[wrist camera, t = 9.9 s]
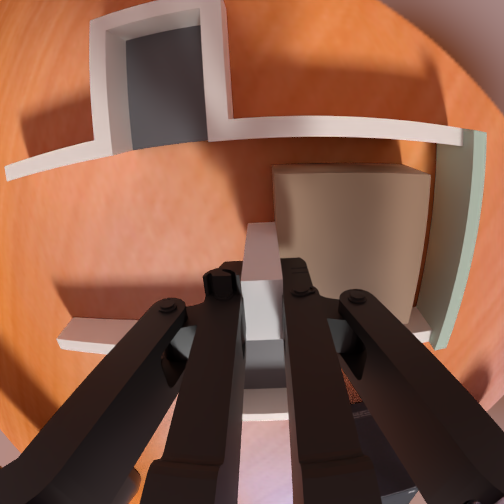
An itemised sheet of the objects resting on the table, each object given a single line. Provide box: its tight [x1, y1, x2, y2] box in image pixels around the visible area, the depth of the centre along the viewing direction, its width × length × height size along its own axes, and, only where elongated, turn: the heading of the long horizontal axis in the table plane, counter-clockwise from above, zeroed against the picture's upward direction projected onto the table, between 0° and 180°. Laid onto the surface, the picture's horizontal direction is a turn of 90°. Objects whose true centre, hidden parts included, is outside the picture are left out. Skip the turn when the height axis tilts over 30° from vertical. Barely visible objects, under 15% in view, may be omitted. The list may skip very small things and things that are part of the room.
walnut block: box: [272, 163, 431, 324], centre depth 17 cm, size 8×9×4 cm
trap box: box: [5, 0, 487, 421], centre depth 17 cm, size 28×28×4 cm
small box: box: [350, 402, 418, 504], centre depth 22 cm, size 11×6×10 cm, turn 13°
